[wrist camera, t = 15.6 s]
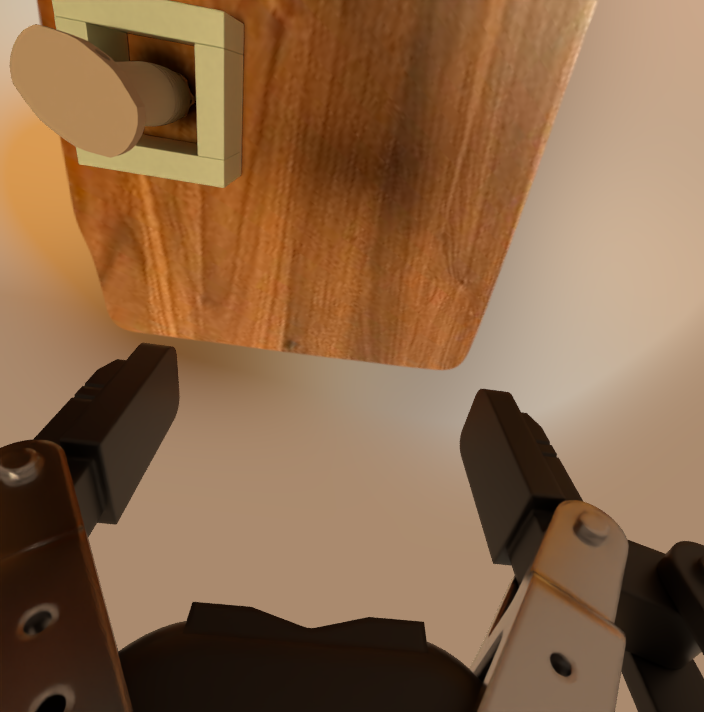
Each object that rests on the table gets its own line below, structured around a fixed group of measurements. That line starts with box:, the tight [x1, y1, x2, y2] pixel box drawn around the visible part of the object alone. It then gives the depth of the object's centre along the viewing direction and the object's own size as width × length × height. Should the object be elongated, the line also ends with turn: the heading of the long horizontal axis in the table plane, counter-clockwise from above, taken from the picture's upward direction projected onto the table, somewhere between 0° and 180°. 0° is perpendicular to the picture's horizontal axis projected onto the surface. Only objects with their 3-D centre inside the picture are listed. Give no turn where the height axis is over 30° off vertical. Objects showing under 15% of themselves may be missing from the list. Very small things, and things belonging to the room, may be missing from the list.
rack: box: [52, 0, 244, 188], centre depth 33 cm, size 11×11×6 cm
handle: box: [10, 24, 195, 158], centre depth 29 cm, size 5×6×15 cm
